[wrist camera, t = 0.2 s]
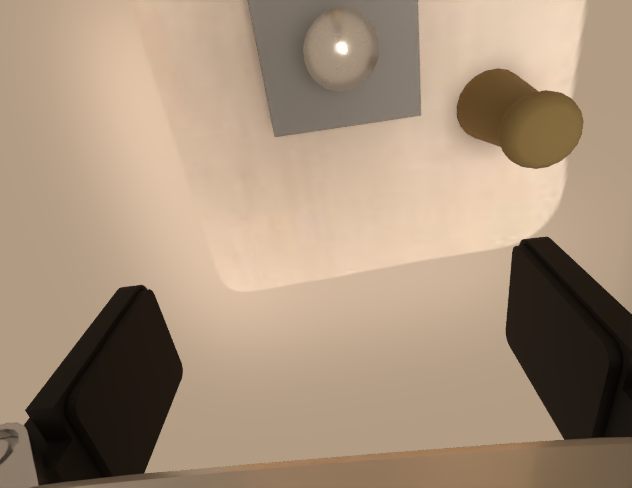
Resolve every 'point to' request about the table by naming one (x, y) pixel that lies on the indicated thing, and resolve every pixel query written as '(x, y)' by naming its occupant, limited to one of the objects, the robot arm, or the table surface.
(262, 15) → the mount
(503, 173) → the table surface
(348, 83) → the knob
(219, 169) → the table surface
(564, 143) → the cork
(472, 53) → the table surface
